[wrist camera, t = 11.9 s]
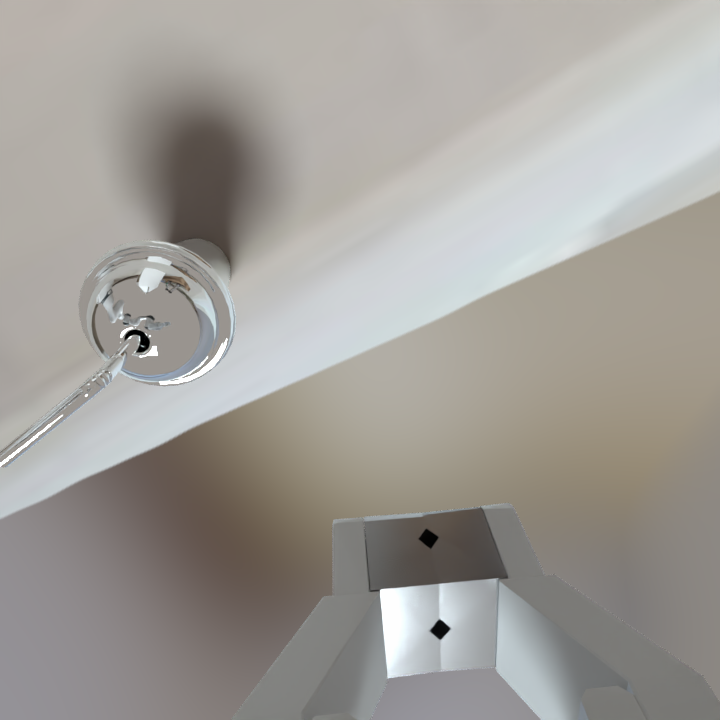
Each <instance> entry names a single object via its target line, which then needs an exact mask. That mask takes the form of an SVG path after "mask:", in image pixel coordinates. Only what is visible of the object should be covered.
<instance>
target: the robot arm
mask: <svg viewBox="0 0 720 720" xmlns="http://www.w3.org/2000/svg"><path fill="white" fill-rule="evenodd" d="M364 524H365V529H364ZM332 535H333V536H332V542H333V543H332V544H333V596H325V597H323V598H322V600H321V601H320V602H319V603H318V605H317V606H316V607H315V609H314V610H313V611H312V613H311V614H310V616H309V617H308V618H307V619H306V621H305V622H304V624H303V625H302V626H301V627H300V629H299V630H298V631H297V633H296V634H295V635H294V637H293V638H292V639H291V641H290V642H289V643H288V645H287V646H286V647H285V649H284V650H283V651H282V653H281V654H280V655H279V657H278V658H277V659H276V661H275V662H274V663H273V665H272V666H271V667H270V669H269V670H268V671H267V673H266V674H265V675H264V677H263V678H262V679H261V681H260V682H259V683H258V685H257V686H256V687H255V689H254V690H253V691H252V693H251V694H250V695H249V697H248V698H247V699H246V701H245V702H244V703H243V705H242V706H241V707H240V709H239V710H238V711H237V713H236V714H235V715H234V716H233V718H232V719H231V720H371V717H372V715H373V713H374V711H375V709H376V707H377V704H378V702H379V700H380V698H381V696H382V693H383V691H384V689H385V687H386V684H387V682H388V678H391V677H399V676H406V675H415V674H422V673H430V672H438V671H450V670H464V669H479V668H494V667H496V671H497V672H498V673H499V674H500V675H501V676H502V677H503V678H504V680H505V681H506V682H507V683H508V684H509V685H510V686H511V687H512V688H513V689H514V691H515V692H516V693H517V694H518V695H519V696H520V697H521V698H522V699H523V700H524V701H525V703H526V704H527V705H528V706H529V707H530V708H531V709H532V710H533V711H534V712H535V714H536V715H537V716H538V717H539V718H540V719H541V720H720V701H719V700H718V698H717V697H716V695H715V694H714V692H713V691H712V689H711V688H710V686H709V685H708V683H707V682H706V680H705V678H704V677H703V675H701V674H700V673H698V672H697V671H695V670H694V669H692V668H691V667H689V666H688V665H687V664H685V663H684V662H682V661H681V660H679V659H678V658H676V657H675V656H673V655H672V654H671V653H669V652H668V651H666V650H665V649H663V648H662V647H660V646H659V645H657V644H656V643H654V642H653V641H651V640H650V639H649V638H647V637H646V636H644V635H643V634H641V633H640V632H638V631H637V630H635V629H634V628H632V627H631V626H629V625H628V624H627V623H625V622H624V621H622V620H621V619H619V618H618V617H616V616H615V615H613V614H612V613H610V612H609V611H608V610H606V609H605V608H603V607H602V606H600V605H599V604H597V603H596V602H594V601H593V600H591V599H590V598H588V597H587V596H586V595H584V594H583V593H581V592H580V591H578V590H577V589H575V588H574V587H572V586H571V585H569V584H568V583H566V582H565V581H563V580H562V579H561V578H559V577H558V576H556V575H554V574H553V575H545V574H544V571H543V569H542V567H541V565H540V563H539V561H538V559H537V556H536V555H535V552H534V550H533V548H532V546H531V543H530V541H529V539H528V537H527V535H526V533H525V530H524V528H523V526H522V524H521V522H520V520H519V518H518V515H517V513H516V511H515V509H514V507H513V506H512V505H511V504H510V503H504V504H495V505H486V506H480V507H474V508H464V509H454V510H444V511H436V512H425V513H411V514H397V515H384V516H369V517H364V520H363V518H348V519H335V520H334V521H333V527H332ZM365 537H366V539H365Z"/></svg>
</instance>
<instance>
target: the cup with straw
mask: <svg viewBox="0 0 720 720" xmlns="http://www.w3.org/2000/svg"><path fill="white" fill-rule="evenodd" d="M230 274H231V270H230V264H229V261H228V259H227V257H226V255H225V254H224V252H223V251H222V250H221V249H220V248H219V247H218V246H216V245H215V244H213V243H212V242H210V241H207V240H204V239H198V238H193V239H187V240H184V241H182V242H178V243H175V244H172V243H169V242H165V241H157V240H140V241H133V242H129V243H125V244H122V245H119V246H117V247H115V248H114V249H112V250H110V251H108V252H107V253H105V254H104V255H103V256H102V257H101V258H100V259H98V260H97V261H96V263H95V264H94V265H93V267H92V268H91V270H90V271H89V272H88V275H87V276H86V278H85V281H84V283H83V286H82V288H81V291H80V298H79V317H80V321H81V325H82V328H83V332H84V334H85V336H86V338H87V340H88V342H89V344H90V345H91V346H92V348H93V349H94V350H95V352H96V353H97V354H98V356H99V357H100V358H101V359H102V360H103V361H104V362H105V363H104V365H103V366H102V367H101V368H100V369H99V370H98V371H96V373H94V374H93V375H92V376H91V377H90V378H89V379H88V380H86V381H85V382H84V383H83V384H82V385H80V386H79V387H78V388H77V389H76V390H74V391H73V392H72V393H71V394H70V395H68V396H67V397H66V398H65V399H63V400H62V401H61V402H60V403H58V404H57V405H56V406H55V407H54V408H52V409H51V410H50V411H49V412H47V413H46V414H45V415H44V416H42V417H41V418H40V419H39V420H38V421H36V422H35V423H34V424H33V425H31V426H30V427H29V428H28V429H26V430H25V431H24V432H23V433H22V434H20V435H19V436H18V437H17V438H15V439H14V440H13V441H12V442H10V443H9V444H8V445H7V446H6V447H4V448H3V449H2V450H1V451H0V466H1V467H5V468H6V467H8V466H9V465H10V464H12V463H13V462H14V461H15V460H17V459H18V458H19V457H20V456H21V455H23V454H24V453H25V452H26V451H28V450H29V449H30V448H31V447H33V446H34V445H35V444H36V443H38V442H39V441H40V440H41V439H43V438H44V437H45V436H46V435H47V434H49V433H50V432H51V431H52V430H54V429H55V428H56V427H57V426H59V425H60V424H61V423H62V422H64V421H65V420H66V419H67V418H68V417H70V416H71V415H72V414H73V413H75V412H76V411H77V410H78V409H80V408H81V407H82V406H83V405H85V404H86V403H87V402H88V401H89V400H91V399H92V398H94V396H95V395H97V394H98V393H99V392H100V391H101V390H102V389H103V388H105V387H106V386H107V385H108V384H109V383H110V382H111V381H112V379H113V378H114V377H115V376H116V375H117V373H120V374H122V375H124V376H126V377H128V378H130V379H132V380H135V381H138V382H141V383H145V384H148V385H156V386H175V385H181V384H185V383H189V382H192V381H194V380H196V379H198V378H200V377H202V376H204V375H205V374H206V373H208V372H209V371H210V370H212V369H213V368H214V367H216V366H217V365H218V364H219V363H220V361H221V360H222V359H223V358H224V357H225V356H226V354H227V352H228V350H229V348H230V346H231V344H232V341H233V337H234V334H235V326H236V315H235V308H234V303H233V300H232V297H231V295H230V292H229V289H228V285H229V280H230Z"/></svg>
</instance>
